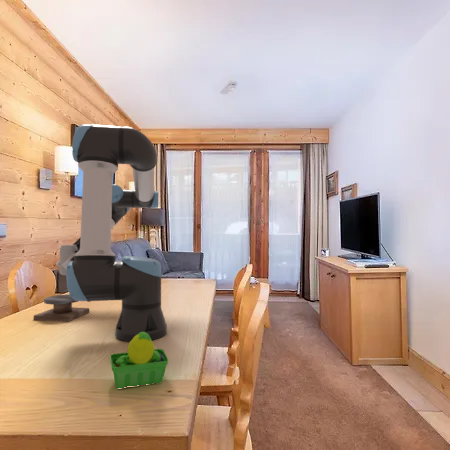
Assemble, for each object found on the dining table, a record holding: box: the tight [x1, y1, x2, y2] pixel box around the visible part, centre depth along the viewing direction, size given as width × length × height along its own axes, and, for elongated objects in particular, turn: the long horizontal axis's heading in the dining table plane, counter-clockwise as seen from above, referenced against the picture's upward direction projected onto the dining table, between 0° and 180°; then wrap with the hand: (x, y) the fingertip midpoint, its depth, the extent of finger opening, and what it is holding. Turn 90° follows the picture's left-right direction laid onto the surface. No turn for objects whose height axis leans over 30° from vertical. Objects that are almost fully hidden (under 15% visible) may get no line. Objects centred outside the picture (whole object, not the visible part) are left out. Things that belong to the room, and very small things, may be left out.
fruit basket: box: [109, 332, 169, 389], centre depth 69 cm, size 11×9×11 cm
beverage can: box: [59, 244, 77, 276], centre depth 133 cm, size 6×6×12 cm
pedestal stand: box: [33, 294, 90, 323], centre depth 120 cm, size 13×13×6 cm
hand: (61, 266), depth 130 cm, fingers closed on beverage can, 6 cm apart
